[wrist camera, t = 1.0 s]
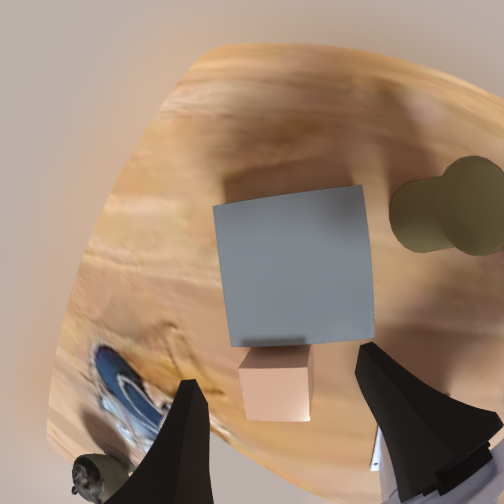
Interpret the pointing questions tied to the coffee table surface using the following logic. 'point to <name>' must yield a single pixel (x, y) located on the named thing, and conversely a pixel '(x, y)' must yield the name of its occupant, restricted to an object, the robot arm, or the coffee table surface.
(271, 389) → the tan cube
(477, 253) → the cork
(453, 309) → the coffee table surface
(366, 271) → the plate
